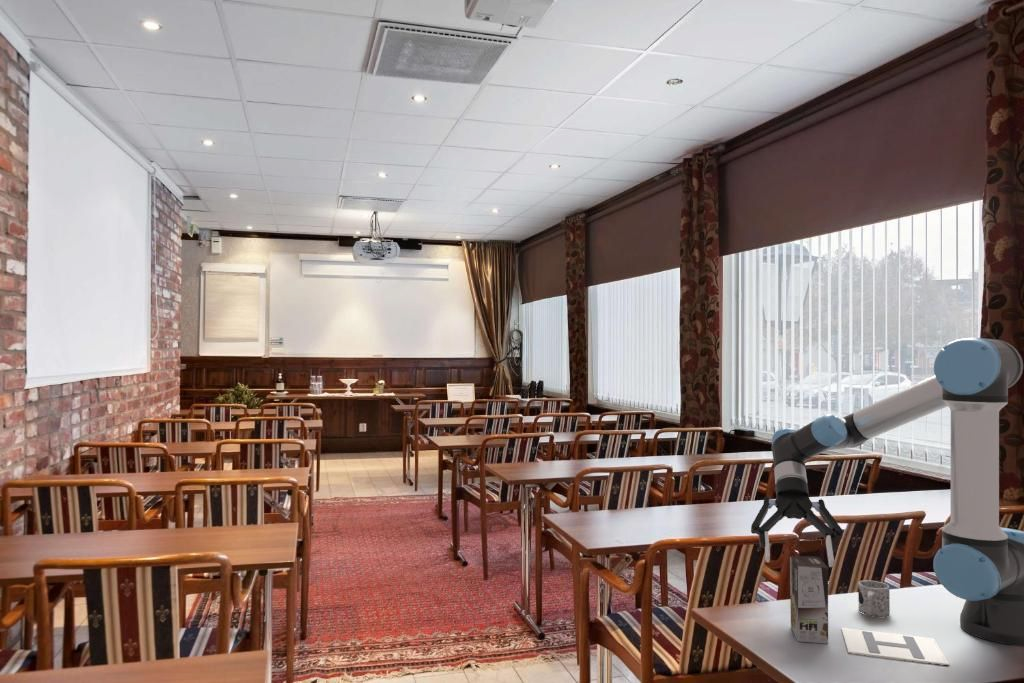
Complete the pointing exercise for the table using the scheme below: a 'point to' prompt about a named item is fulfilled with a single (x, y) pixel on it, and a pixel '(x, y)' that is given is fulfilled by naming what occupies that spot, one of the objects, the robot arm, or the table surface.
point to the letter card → (893, 646)
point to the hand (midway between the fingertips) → (799, 561)
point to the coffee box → (809, 599)
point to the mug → (874, 598)
